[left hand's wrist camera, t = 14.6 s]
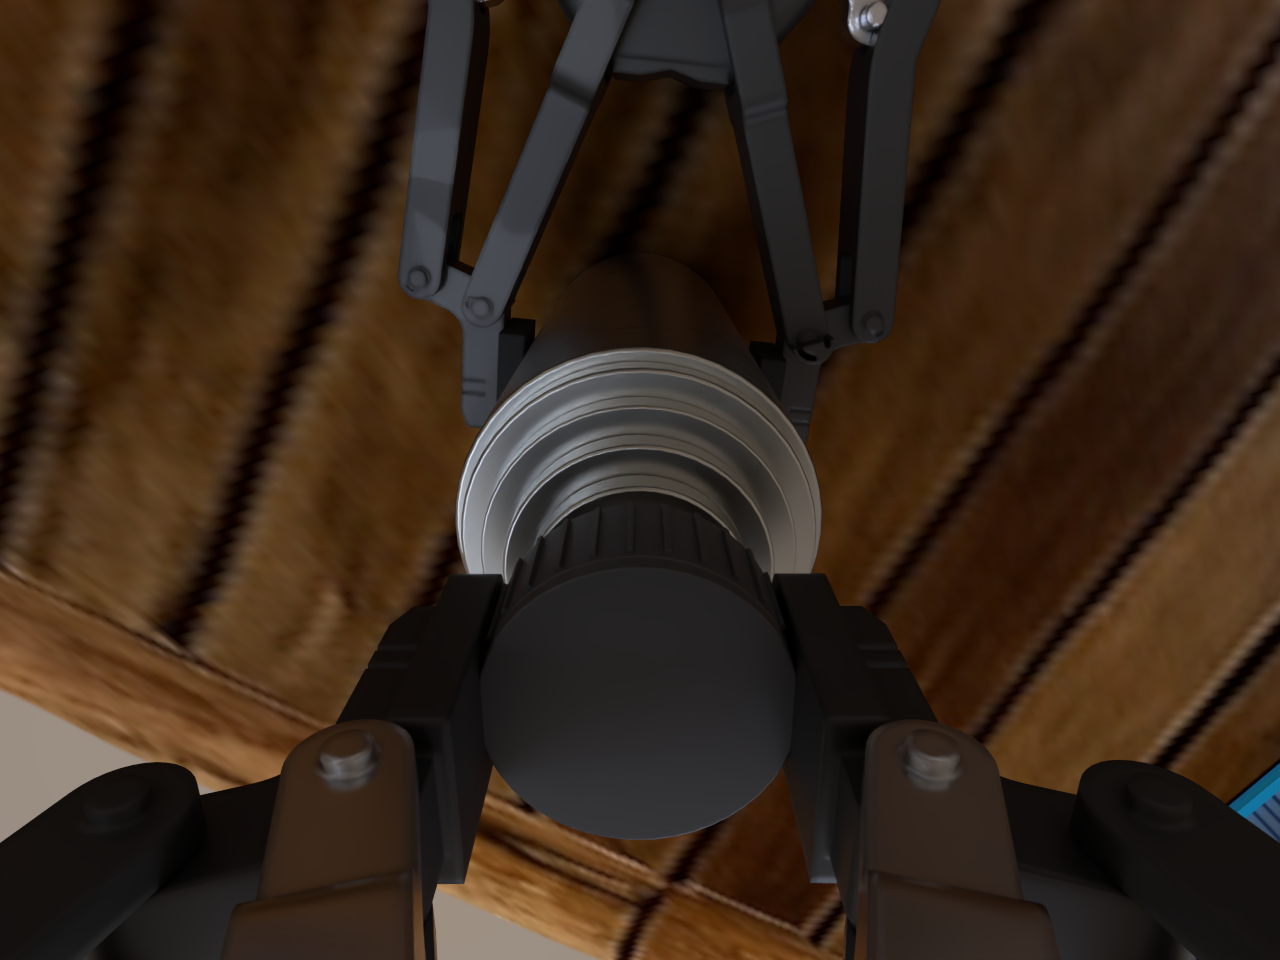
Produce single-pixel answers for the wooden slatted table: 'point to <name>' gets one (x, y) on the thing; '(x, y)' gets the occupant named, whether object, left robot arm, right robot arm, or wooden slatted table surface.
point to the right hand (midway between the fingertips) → (624, 529)
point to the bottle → (638, 425)
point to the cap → (637, 675)
